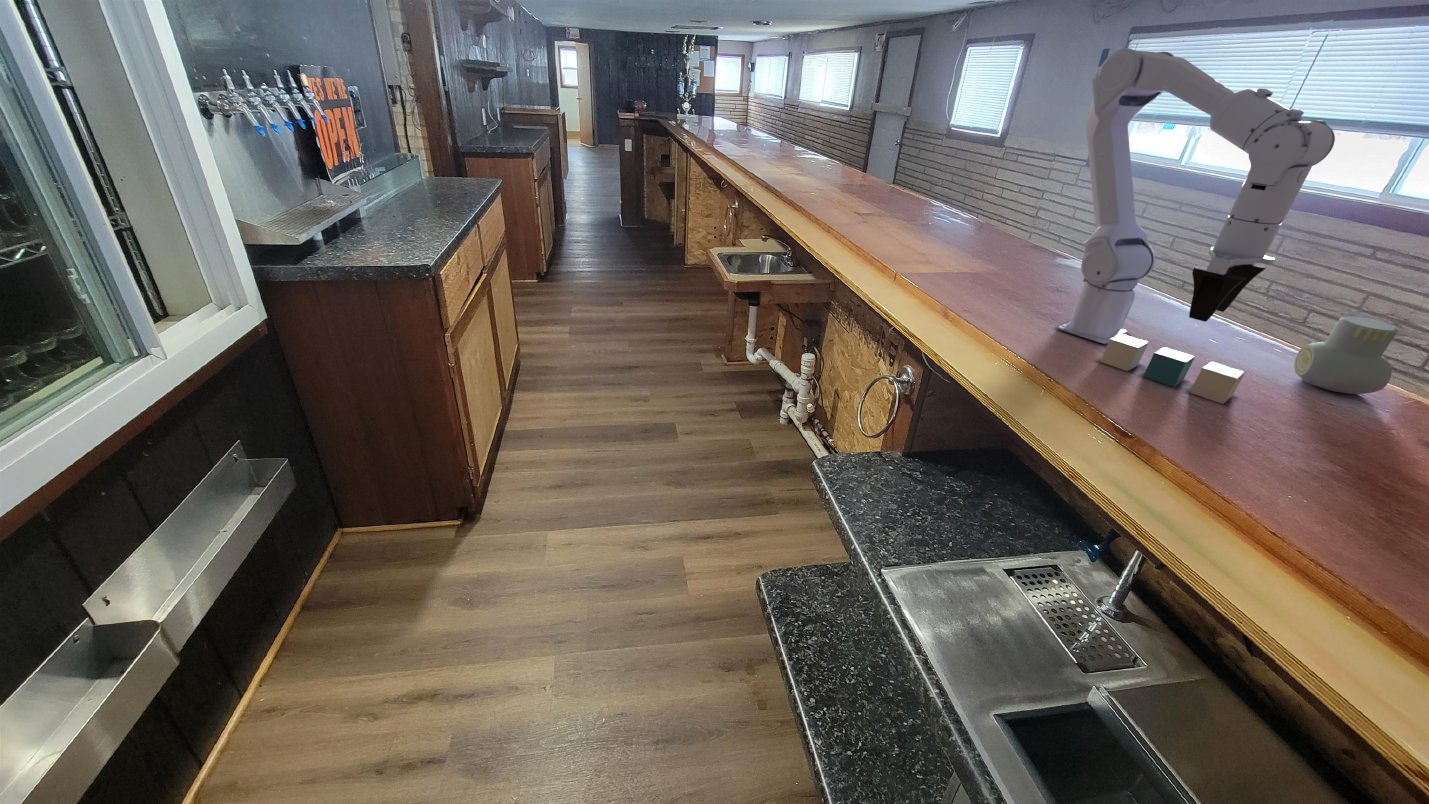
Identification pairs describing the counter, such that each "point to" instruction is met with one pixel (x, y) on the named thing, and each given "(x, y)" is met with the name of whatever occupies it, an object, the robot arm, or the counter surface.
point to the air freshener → (1348, 357)
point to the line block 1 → (1124, 352)
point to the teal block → (1169, 366)
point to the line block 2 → (1217, 382)
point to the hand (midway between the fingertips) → (1206, 314)
